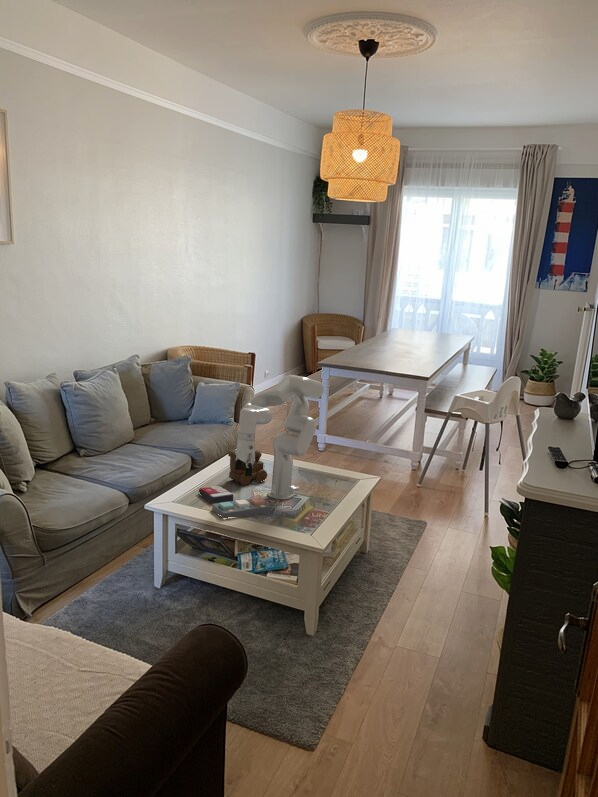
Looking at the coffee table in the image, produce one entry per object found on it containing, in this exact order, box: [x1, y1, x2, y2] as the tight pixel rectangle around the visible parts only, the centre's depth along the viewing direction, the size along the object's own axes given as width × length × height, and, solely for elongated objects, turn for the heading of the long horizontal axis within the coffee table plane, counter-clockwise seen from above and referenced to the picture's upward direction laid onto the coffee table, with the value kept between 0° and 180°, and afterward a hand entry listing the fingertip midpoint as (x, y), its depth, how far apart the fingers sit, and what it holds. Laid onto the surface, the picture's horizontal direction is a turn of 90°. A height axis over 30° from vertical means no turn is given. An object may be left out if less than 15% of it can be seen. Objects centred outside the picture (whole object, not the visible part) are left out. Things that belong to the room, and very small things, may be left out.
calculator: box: [198, 485, 234, 505], centre depth 294 cm, size 11×4×15 cm
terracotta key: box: [249, 496, 266, 506], centre depth 284 cm, size 5×5×2 cm
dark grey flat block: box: [211, 498, 273, 519], centre depth 280 cm, size 24×12×3 cm, turn 123°
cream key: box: [234, 499, 250, 508], centre depth 280 cm, size 5×5×2 cm
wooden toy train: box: [227, 449, 268, 486], centre depth 321 cm, size 20×11×17 cm, turn 130°
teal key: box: [219, 502, 234, 511], centre depth 276 cm, size 5×5×2 cm
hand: (243, 472), depth 277 cm, fingers open, 9 cm apart
